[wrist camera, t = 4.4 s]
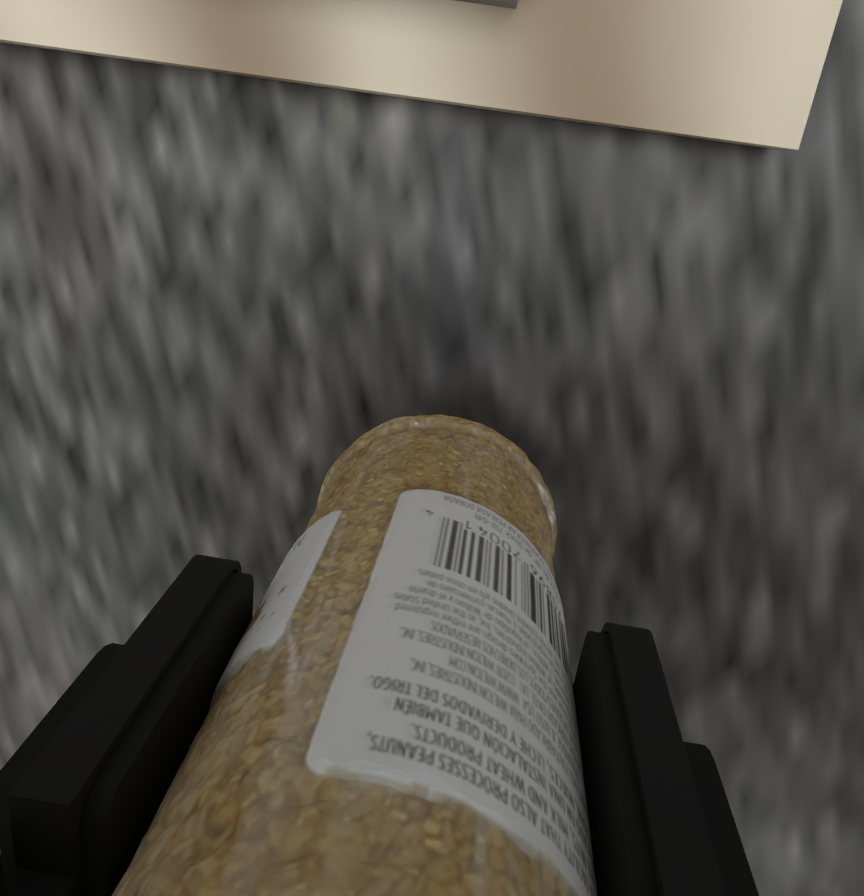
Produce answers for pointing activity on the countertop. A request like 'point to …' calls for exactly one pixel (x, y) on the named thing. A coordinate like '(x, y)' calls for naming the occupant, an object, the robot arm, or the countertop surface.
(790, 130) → the board
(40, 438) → the countertop surface
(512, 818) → the sprinkles bottle
